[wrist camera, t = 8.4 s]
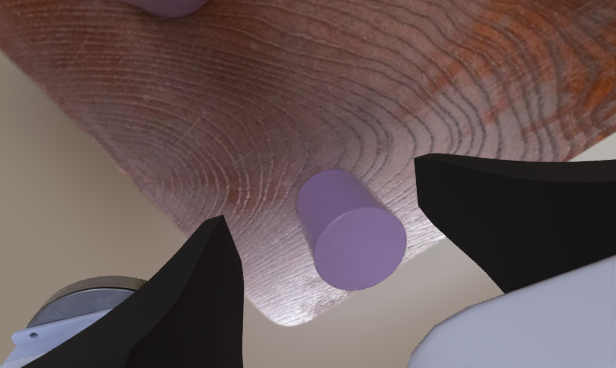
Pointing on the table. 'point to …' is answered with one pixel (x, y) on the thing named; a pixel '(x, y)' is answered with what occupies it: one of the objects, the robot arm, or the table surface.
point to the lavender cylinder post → (167, 7)
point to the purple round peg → (349, 230)
